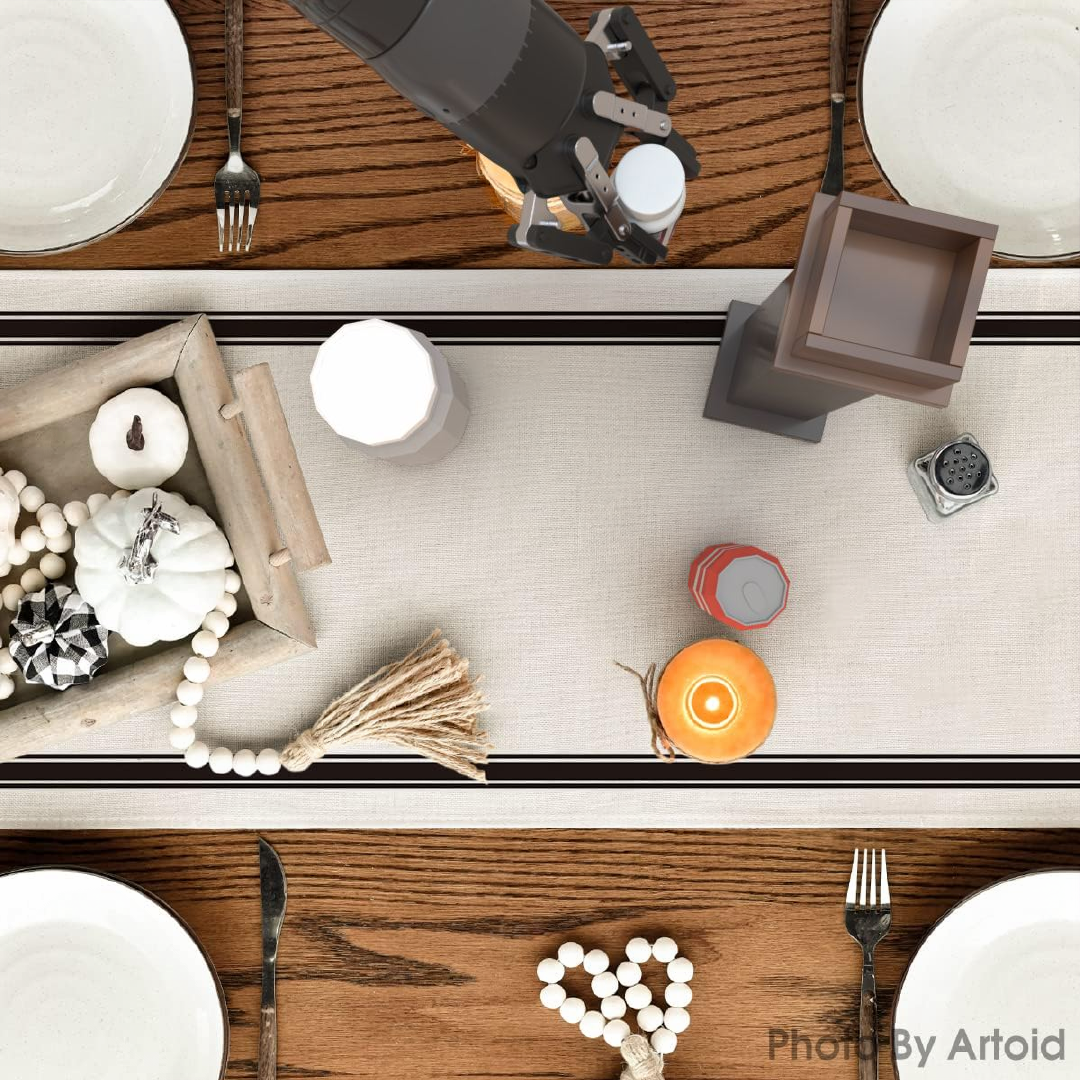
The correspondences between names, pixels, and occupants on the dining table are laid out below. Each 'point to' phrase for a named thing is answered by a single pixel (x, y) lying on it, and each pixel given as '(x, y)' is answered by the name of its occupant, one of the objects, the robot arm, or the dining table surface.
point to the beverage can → (739, 585)
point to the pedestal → (767, 377)
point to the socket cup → (883, 297)
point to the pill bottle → (651, 189)
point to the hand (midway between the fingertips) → (672, 213)
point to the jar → (389, 393)
